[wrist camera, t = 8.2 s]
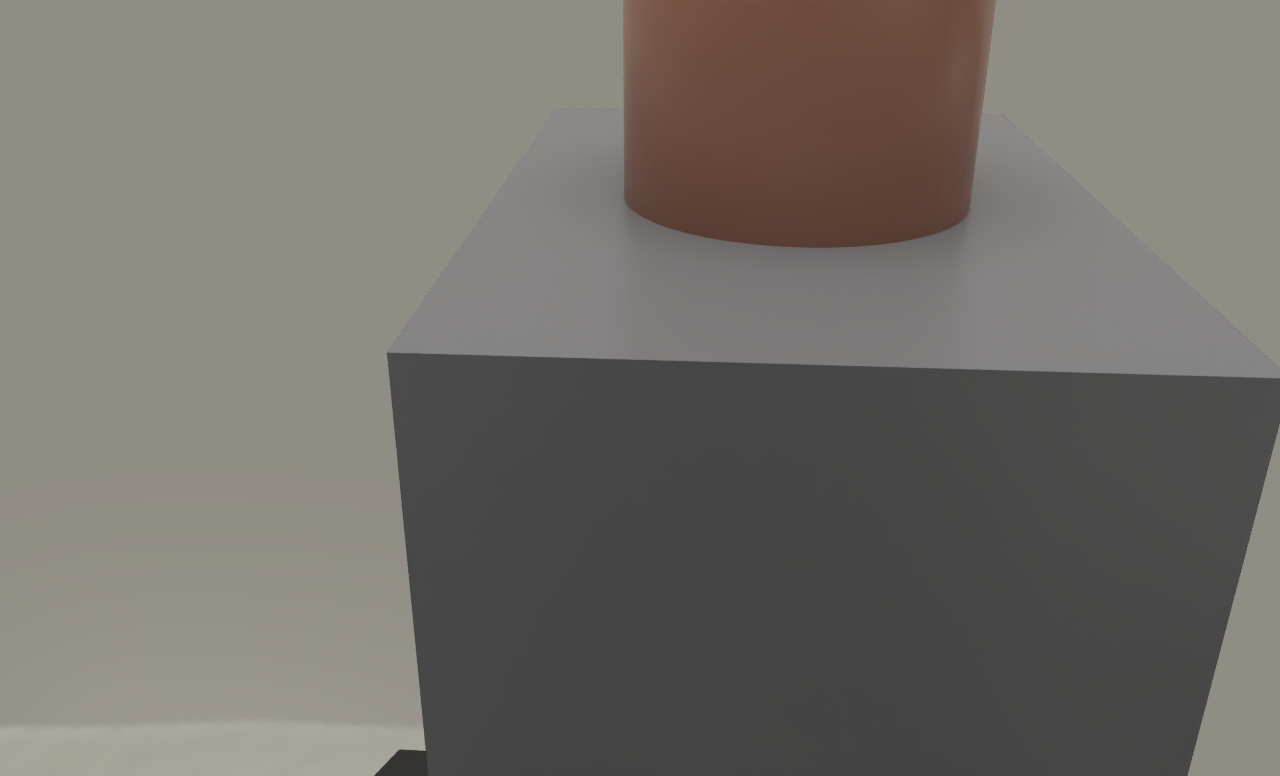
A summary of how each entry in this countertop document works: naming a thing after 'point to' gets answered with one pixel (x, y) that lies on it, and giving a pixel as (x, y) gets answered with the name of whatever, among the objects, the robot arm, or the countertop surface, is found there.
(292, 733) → the countertop surface
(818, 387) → the plug
